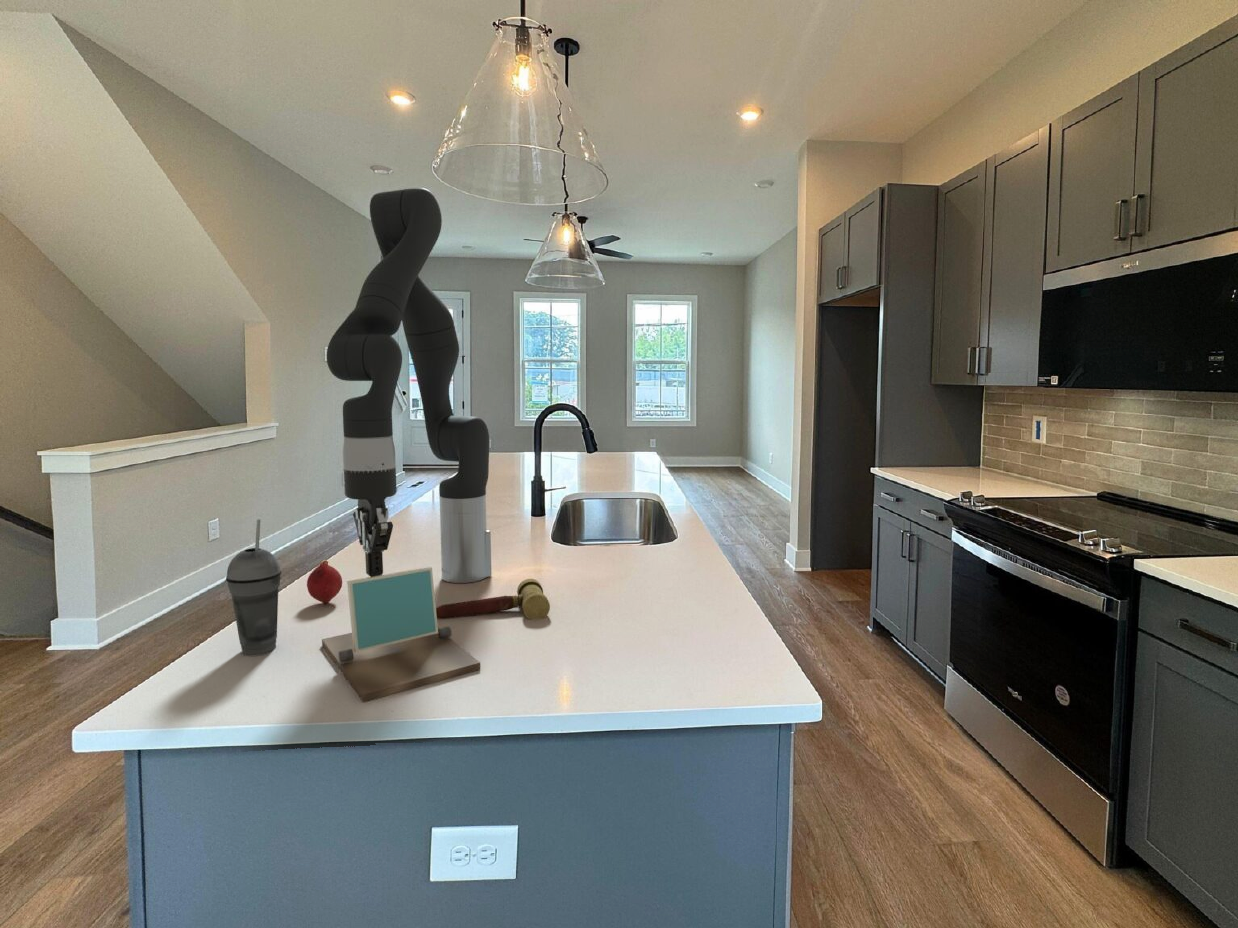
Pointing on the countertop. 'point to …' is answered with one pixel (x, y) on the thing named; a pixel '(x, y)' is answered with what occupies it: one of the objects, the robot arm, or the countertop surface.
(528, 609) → the gavel
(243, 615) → the beverage cup
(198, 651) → the countertop surface
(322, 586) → the onion
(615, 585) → the countertop surface
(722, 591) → the countertop surface
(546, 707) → the countertop surface
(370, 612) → the tile
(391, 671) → the walnut board
